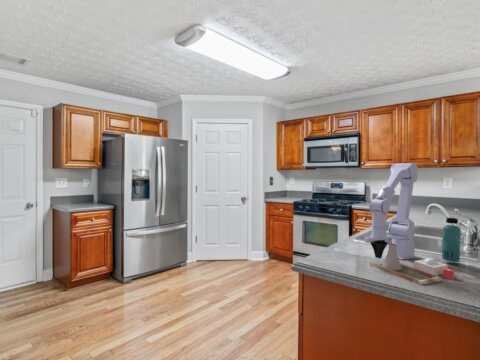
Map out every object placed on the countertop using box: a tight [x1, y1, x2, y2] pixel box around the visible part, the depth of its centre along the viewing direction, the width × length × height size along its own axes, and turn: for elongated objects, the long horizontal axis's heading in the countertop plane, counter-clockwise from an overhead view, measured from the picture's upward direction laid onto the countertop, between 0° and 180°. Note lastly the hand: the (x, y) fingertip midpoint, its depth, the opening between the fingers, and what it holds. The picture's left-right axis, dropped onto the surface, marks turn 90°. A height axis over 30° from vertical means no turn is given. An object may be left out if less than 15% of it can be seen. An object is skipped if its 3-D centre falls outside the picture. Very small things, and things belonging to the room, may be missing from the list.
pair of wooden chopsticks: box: [369, 261, 443, 285], centre depth 114 cm, size 11×23×1 cm, turn 22°
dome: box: [423, 257, 438, 266], centre depth 114 cm, size 5×5×5 cm
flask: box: [381, 243, 403, 272], centre depth 118 cm, size 7×7×10 cm
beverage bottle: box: [441, 217, 461, 263], centre depth 125 cm, size 6×7×20 cm
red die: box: [442, 267, 456, 281], centre depth 108 cm, size 3×3×3 cm
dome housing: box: [413, 259, 449, 276], centre depth 114 cm, size 8×8×4 cm
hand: (378, 257), depth 125 cm, fingers closed
